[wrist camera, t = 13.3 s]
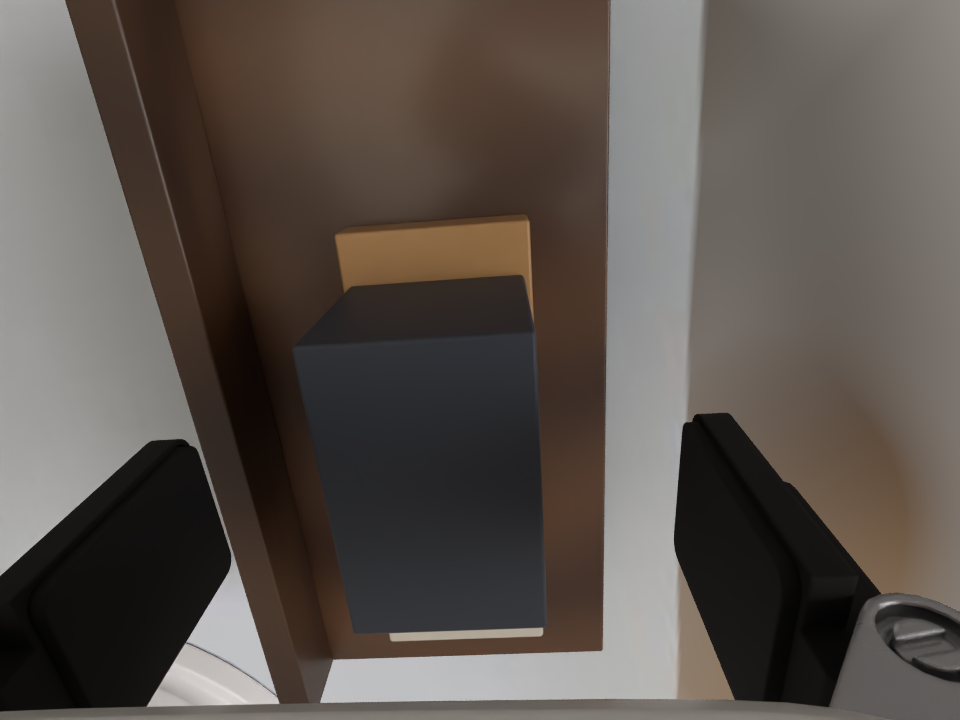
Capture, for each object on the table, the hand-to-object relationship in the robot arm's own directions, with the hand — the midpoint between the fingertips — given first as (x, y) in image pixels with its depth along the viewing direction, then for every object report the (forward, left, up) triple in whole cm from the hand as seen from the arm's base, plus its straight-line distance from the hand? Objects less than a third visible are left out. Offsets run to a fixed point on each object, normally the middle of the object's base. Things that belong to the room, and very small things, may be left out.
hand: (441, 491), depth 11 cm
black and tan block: (0, +1, -6) cm, 6 cm away
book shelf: (+1, 0, -12) cm, 12 cm away
